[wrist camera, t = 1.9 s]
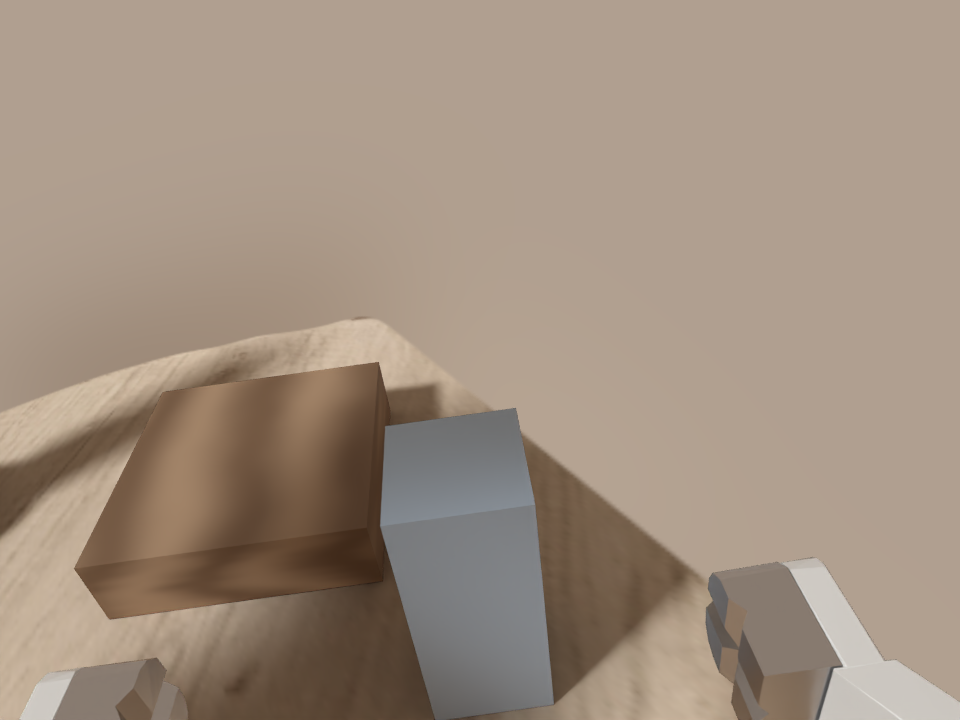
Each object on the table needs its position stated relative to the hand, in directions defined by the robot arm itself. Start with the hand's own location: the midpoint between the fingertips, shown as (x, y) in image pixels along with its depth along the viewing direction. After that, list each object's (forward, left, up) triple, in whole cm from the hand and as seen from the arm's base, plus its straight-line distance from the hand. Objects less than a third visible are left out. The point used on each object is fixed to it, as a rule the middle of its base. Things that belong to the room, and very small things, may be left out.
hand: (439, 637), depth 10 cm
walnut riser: (-12, +24, -19) cm, 33 cm away
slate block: (0, +12, -19) cm, 23 cm away
